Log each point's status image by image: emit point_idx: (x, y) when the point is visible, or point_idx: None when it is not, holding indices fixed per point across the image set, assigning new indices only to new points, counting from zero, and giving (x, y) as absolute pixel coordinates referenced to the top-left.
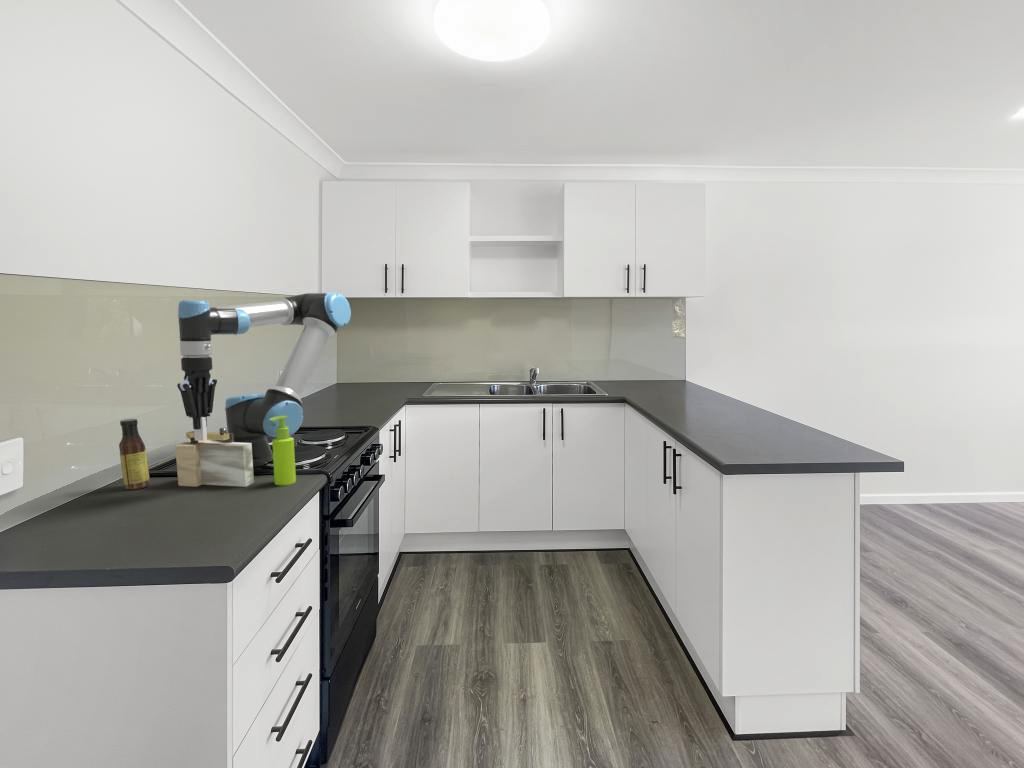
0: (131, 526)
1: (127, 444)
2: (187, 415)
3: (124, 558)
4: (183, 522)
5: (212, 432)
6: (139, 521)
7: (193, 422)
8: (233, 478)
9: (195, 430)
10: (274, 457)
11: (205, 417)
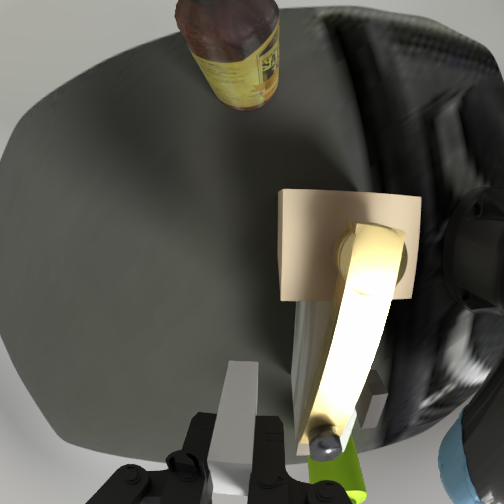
0: (52, 293)
1: (178, 21)
2: (122, 472)
3: (16, 350)
4: (89, 364)
5: (359, 377)
6: (66, 290)
7: (184, 445)
8: (294, 360)
9: (222, 401)
10: (314, 466)
11: (246, 493)
